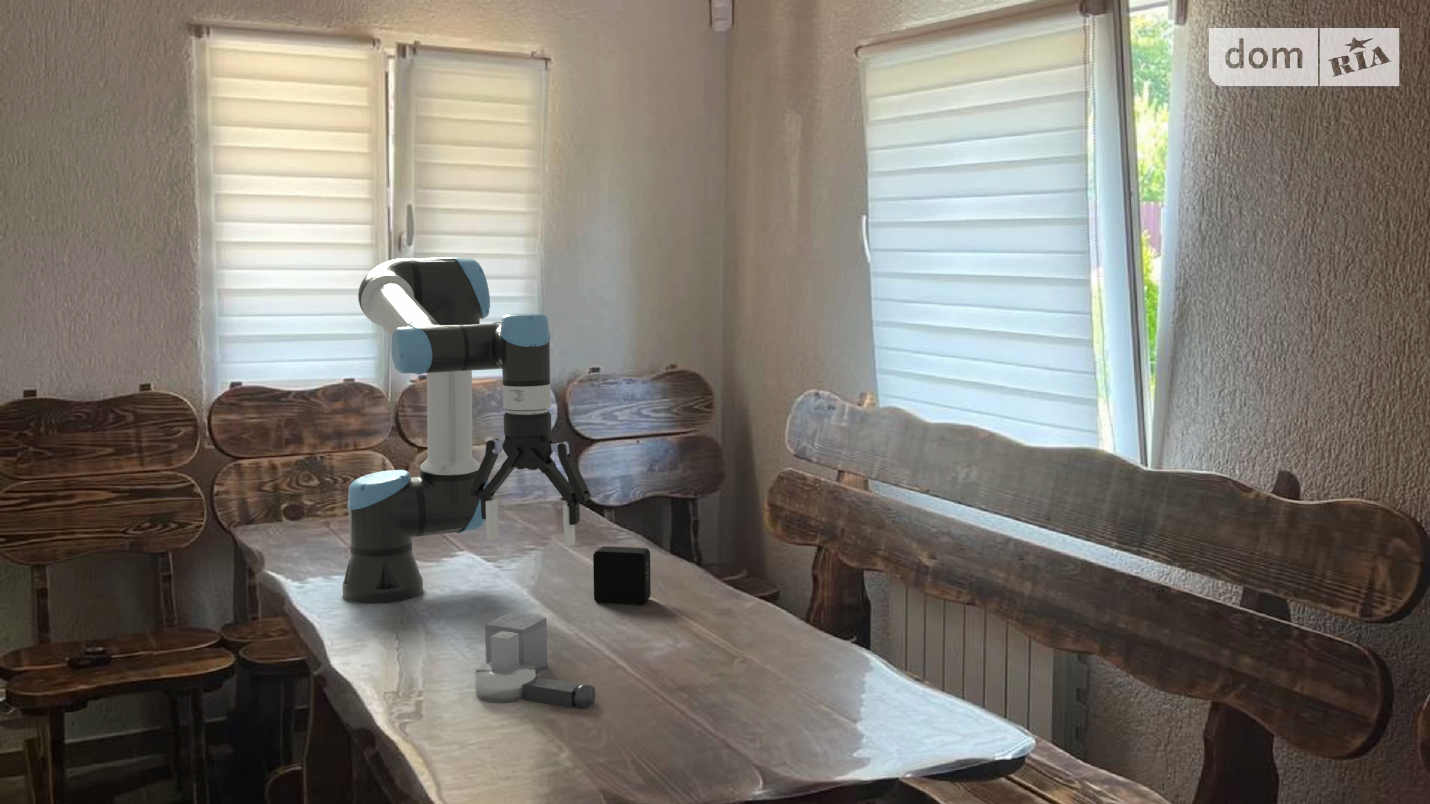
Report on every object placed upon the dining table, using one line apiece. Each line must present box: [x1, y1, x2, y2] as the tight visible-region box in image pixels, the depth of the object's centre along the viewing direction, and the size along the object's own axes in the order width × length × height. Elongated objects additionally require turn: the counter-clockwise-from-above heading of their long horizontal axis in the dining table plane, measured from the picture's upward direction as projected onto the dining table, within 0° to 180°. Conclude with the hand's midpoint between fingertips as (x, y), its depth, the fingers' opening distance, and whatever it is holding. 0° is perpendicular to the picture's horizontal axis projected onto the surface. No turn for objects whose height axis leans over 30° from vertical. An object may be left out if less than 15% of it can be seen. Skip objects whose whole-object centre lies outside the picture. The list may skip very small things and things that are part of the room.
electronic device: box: [592, 545, 652, 606], centre depth 247 cm, size 4×10×10 cm, turn 78°
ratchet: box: [474, 631, 596, 710], centre depth 196 cm, size 19×9×10 cm, turn 66°
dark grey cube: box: [484, 612, 548, 673], centre depth 208 cm, size 7×7×8 cm
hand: (530, 542), depth 210 cm, fingers open, 13 cm apart
